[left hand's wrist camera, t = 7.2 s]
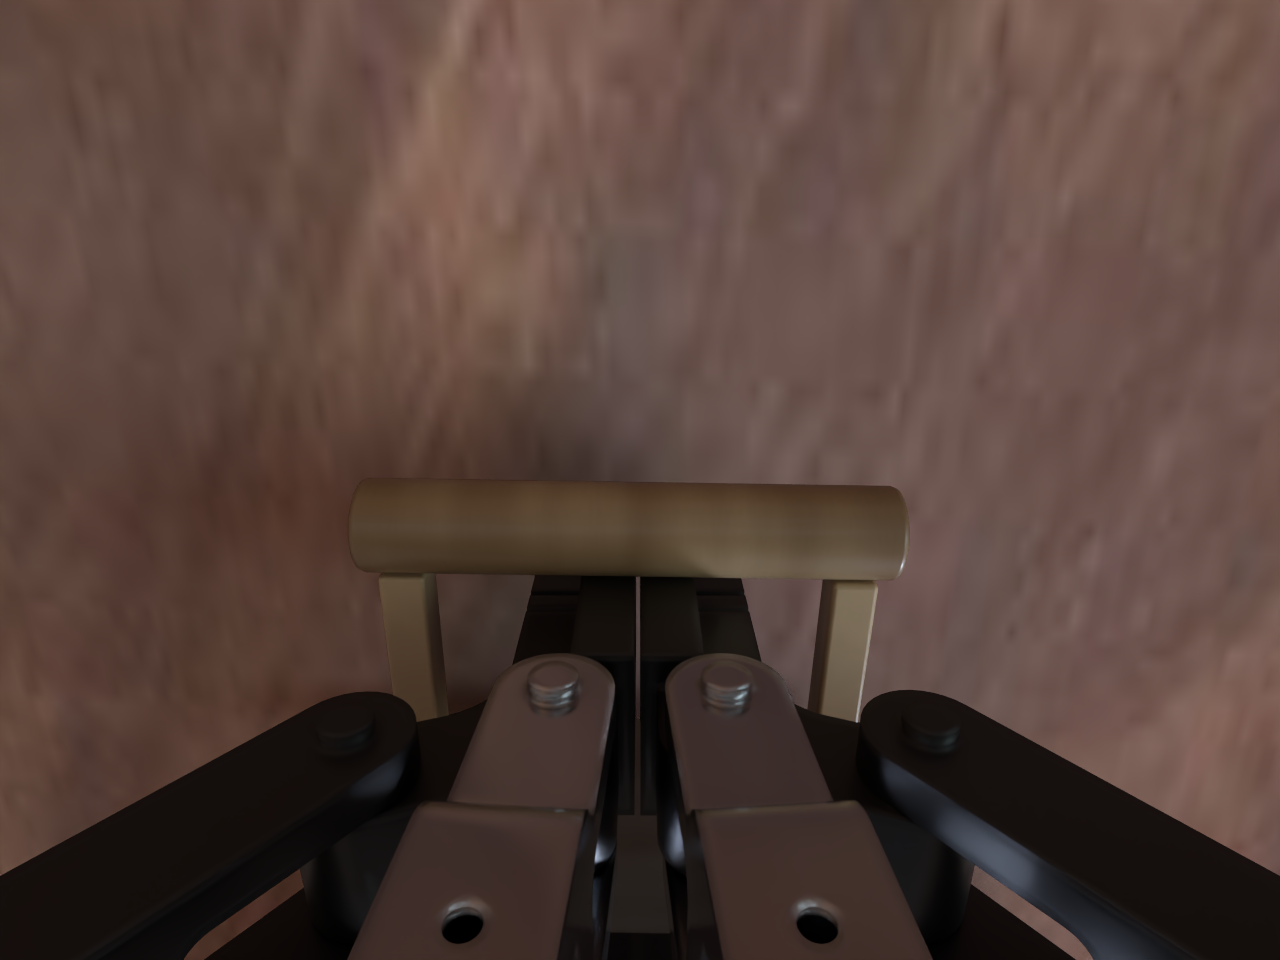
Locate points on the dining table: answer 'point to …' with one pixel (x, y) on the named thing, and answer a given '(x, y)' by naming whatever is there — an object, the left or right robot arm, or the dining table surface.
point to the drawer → (628, 546)
